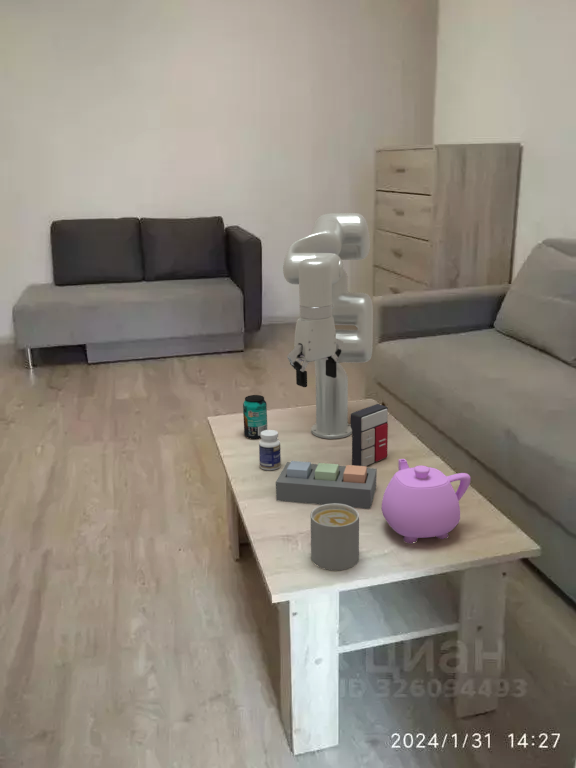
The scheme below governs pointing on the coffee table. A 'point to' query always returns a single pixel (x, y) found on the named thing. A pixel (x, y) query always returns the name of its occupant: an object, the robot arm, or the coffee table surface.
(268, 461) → the pill bottle
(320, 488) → the button housing
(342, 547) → the coffee mug
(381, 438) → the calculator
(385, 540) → the coffee table surface
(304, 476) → the slate button
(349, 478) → the terracotta button
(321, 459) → the coffee table surface
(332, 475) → the sage button
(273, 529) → the coffee table surface
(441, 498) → the teapot
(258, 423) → the teal supplement jar
